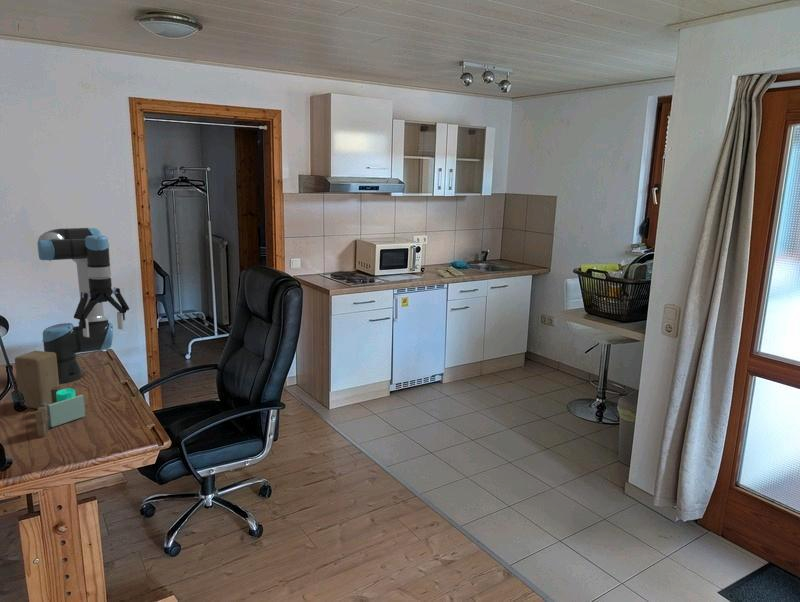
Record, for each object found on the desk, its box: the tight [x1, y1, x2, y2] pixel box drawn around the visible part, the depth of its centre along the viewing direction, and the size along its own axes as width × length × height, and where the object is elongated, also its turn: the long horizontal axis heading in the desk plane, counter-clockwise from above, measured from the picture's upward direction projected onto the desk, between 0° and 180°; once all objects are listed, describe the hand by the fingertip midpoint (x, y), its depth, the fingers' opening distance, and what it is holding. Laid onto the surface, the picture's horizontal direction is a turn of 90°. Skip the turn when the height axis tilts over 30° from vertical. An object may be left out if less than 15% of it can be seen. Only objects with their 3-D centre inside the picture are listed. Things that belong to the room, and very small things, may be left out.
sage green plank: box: [47, 394, 86, 428], centre depth 205 cm, size 12×1×8 cm, turn 148°
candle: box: [56, 387, 76, 422], centre depth 208 cm, size 6×6×12 cm
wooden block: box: [14, 350, 60, 410], centre depth 219 cm, size 10×10×20 cm
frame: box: [34, 385, 62, 438], centre depth 205 cm, size 25×2×10 cm, turn 18°
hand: (104, 332), depth 217 cm, fingers open, 13 cm apart
